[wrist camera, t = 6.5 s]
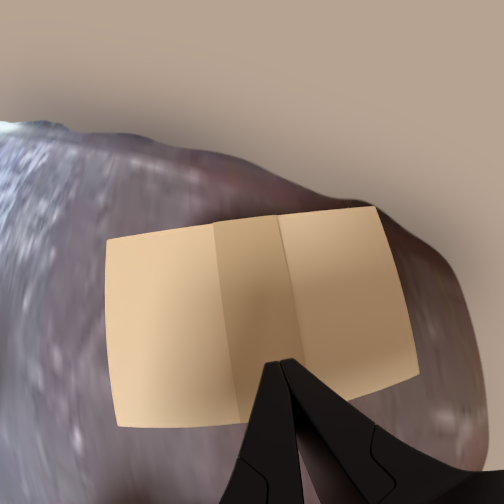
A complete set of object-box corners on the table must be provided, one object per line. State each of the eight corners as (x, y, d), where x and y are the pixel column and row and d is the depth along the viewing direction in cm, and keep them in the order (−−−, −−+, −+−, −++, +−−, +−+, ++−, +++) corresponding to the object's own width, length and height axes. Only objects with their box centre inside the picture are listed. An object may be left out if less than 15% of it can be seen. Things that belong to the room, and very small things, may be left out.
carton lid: (413, 374, 11) (420, 373, 10) (123, 423, 10) (116, 426, 9) (370, 211, 14) (375, 205, 13) (111, 244, 13) (106, 238, 12)
